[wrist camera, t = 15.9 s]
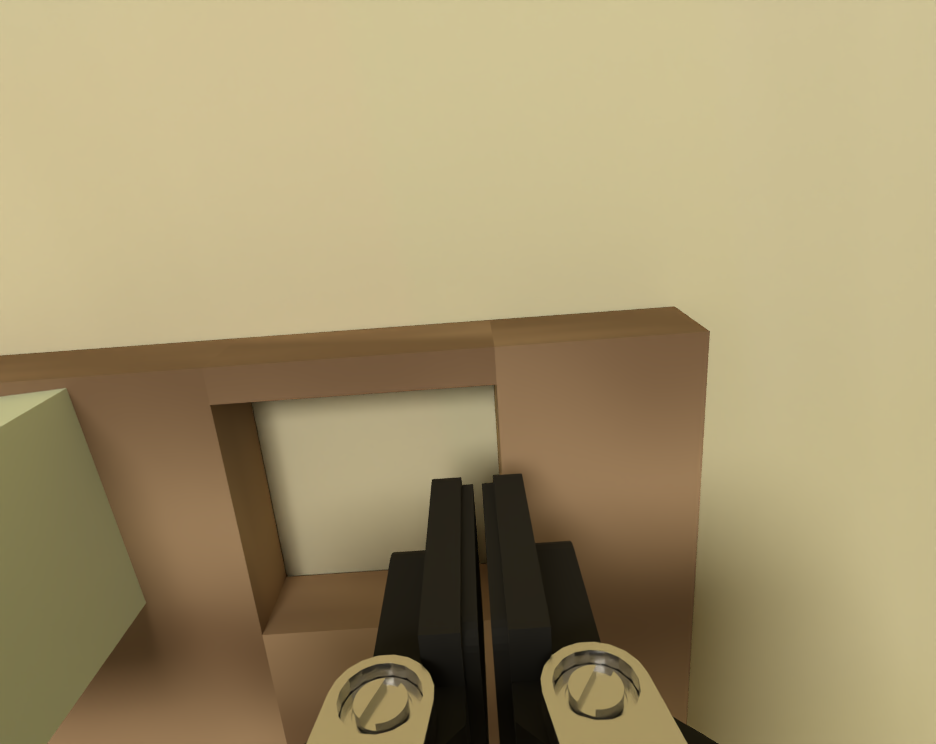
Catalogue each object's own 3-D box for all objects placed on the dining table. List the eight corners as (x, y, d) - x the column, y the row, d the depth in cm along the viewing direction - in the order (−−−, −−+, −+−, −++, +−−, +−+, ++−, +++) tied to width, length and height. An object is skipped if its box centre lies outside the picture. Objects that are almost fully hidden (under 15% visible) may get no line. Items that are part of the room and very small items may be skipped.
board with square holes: (656, 777, 18) (679, 850, 16) (-190, 829, 18) (-265, 907, 16) (674, 306, 13) (710, 331, 11) (-457, 389, 14) (-604, 426, 12)
